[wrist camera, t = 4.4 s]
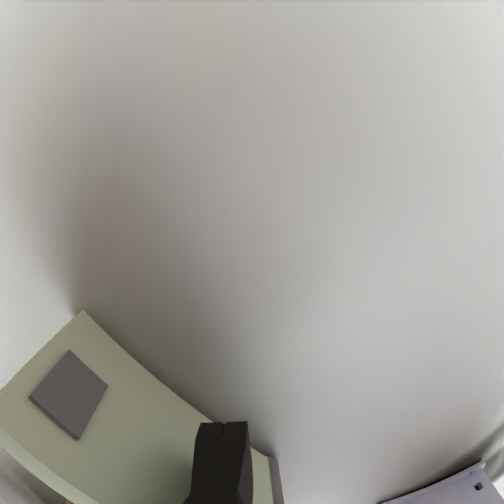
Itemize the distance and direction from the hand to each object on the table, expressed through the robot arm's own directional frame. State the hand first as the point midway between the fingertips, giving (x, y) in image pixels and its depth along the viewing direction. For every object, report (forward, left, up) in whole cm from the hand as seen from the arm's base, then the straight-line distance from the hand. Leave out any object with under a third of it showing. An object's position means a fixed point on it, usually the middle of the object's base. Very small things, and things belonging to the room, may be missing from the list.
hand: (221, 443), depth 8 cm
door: (+2, +1, -3) cm, 3 cm away
